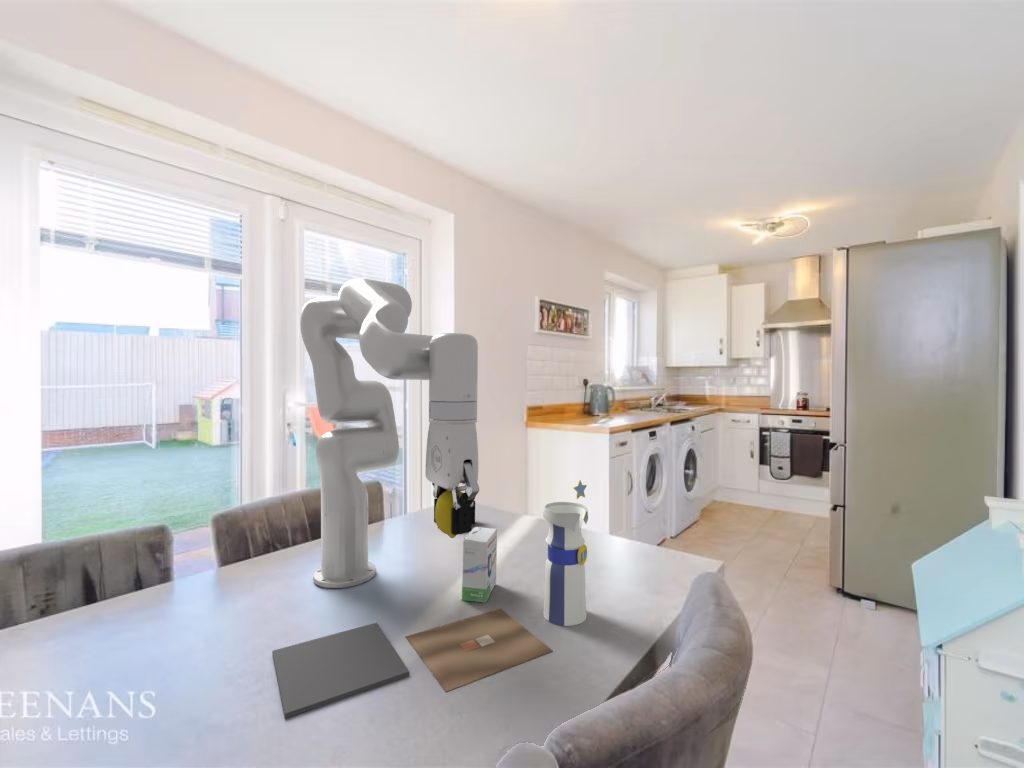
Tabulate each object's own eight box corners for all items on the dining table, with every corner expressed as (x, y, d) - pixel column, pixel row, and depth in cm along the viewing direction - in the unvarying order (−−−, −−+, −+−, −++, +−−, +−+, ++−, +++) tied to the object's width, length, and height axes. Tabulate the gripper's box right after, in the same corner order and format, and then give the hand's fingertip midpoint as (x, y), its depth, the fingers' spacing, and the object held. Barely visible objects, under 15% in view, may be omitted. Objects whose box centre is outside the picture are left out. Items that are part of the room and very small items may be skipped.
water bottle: (596, 610, 86) (596, 473, 86) (578, 631, 78) (578, 482, 78) (555, 599, 90) (555, 469, 90) (534, 618, 83) (534, 477, 82)
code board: (405, 637, 77) (405, 636, 77) (500, 609, 86) (500, 608, 86) (445, 692, 63) (445, 690, 63) (552, 651, 73) (552, 650, 73)
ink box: (473, 582, 98) (473, 525, 98) (497, 584, 97) (497, 527, 97) (460, 601, 89) (460, 539, 89) (487, 603, 88) (487, 541, 88)
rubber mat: (272, 654, 72) (272, 650, 72) (376, 625, 80) (376, 622, 80) (284, 718, 58) (284, 713, 58) (409, 675, 67) (409, 671, 67)
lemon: (427, 541, 72) (428, 489, 72) (445, 530, 77) (445, 482, 77) (460, 546, 70) (460, 493, 70) (475, 534, 75) (476, 485, 75)
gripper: (410, 409, 79) (409, 517, 79) (456, 417, 64) (455, 549, 65) (450, 408, 83) (450, 510, 83) (502, 415, 68) (501, 539, 69)
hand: (452, 526), depth 74 cm, fingers closed on lemon, 5 cm apart
